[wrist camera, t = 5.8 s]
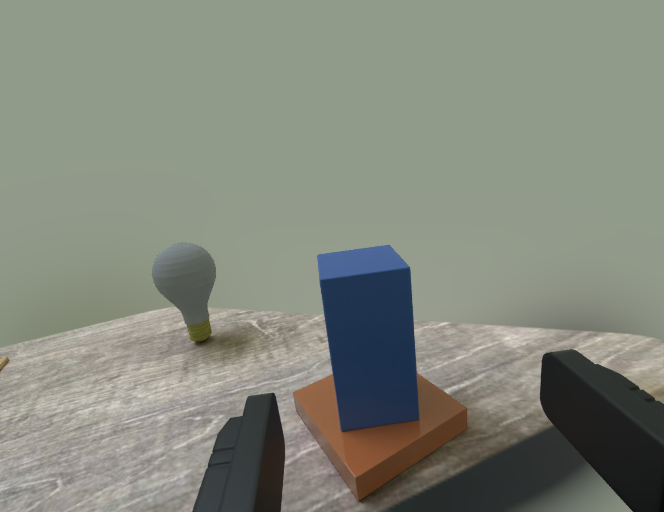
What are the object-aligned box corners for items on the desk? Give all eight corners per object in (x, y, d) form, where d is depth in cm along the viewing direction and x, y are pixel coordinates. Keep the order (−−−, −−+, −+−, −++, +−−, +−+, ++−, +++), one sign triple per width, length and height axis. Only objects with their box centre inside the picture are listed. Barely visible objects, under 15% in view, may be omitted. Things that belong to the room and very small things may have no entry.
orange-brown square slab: (467, 429, 20) (467, 407, 19) (358, 501, 17) (355, 477, 16) (386, 367, 26) (384, 350, 26) (296, 410, 23) (292, 392, 23)
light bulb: (238, 325, 36) (218, 233, 34) (216, 354, 31) (189, 249, 28) (191, 327, 37) (167, 238, 34) (161, 356, 32) (130, 254, 29)
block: (419, 420, 19) (410, 266, 16) (341, 432, 19) (319, 279, 16) (399, 372, 23) (389, 244, 21) (335, 381, 23) (317, 254, 21)
